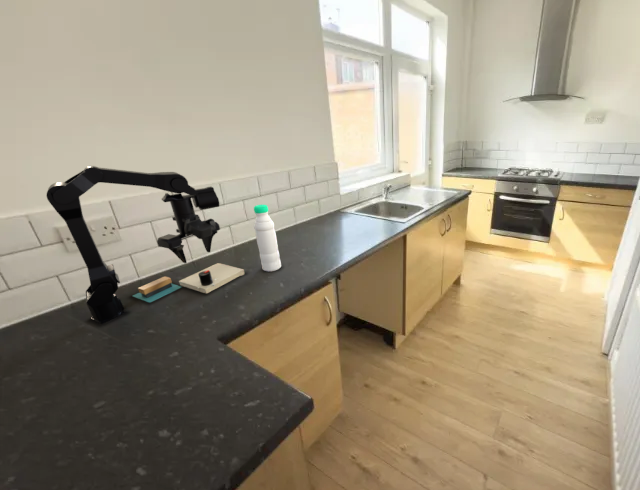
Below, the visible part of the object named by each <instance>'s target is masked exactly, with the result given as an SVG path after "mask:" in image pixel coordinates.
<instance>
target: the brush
mask: <svg viewBox="0 0 640 490" xmlns="http://www.w3.org/2000/svg"><path fill="white" fill-rule="evenodd" d="M171 283H172V284H173V281H172V278H171V277H169V276H161V277H160V278H158V279H156V280H153V281H151V282H149V283H146V284H144V285H141V286H139V287H137V290H138V293H141V294H142V296H143V297H146V298H148V297H151V296H153V295H155V294H157V293H159V292H161V291H163V290H166V289H168V288H170V287H172V285H171Z"/></svg>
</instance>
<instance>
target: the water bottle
mask: <svg viewBox="0 0 640 490" xmlns="http://www.w3.org/2000/svg"><path fill="white" fill-rule="evenodd" d="M253 211H254V214H255V215H256V217H255V219H254V222H253V228H254V231H255V238H256V244H257V248H258V251H259V259H260V261H261V268H262V270H263V271H264V272H268V273H270V272H276V271H278V270H280V269H281V267H282V262H281V261H282V260H281V258H280V251H279V246H278V238H277V233H276V229H275V222H274V221H273V220H272V218H271V217H270V215H269V207H268V205H267V204H257V205H254V206H253Z"/></svg>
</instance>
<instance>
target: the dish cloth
mask: <svg viewBox="0 0 640 490" xmlns="http://www.w3.org/2000/svg"><path fill="white" fill-rule="evenodd" d="M171 285H172V287H170V288H168V289H166V290H163V291H161V292H159V293H157V294H155V295H153V296H151V297H148V298H146V297H143V296H142V294H141V293H139V292H137V293H134V294H133V295H132V297H133V298H136V299H138V300H141V301H144V302H146V303H149V304H150V303H152V302H154V301H156V300H158V299H160V298H162V297H165V296H167V295H169V294H171V293H173V292H175V291H177V290H179V289H182V286H181V285H178V284H174V283H173V282H172V283H171Z"/></svg>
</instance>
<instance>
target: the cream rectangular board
mask: <svg viewBox="0 0 640 490" xmlns="http://www.w3.org/2000/svg"><path fill="white" fill-rule="evenodd" d="M207 270H209V271H210V273H211V276H212V280H213V283H212V284H210V285H208V286H202V285H201V282H200V278H199V275H198V274H199V273H200V272H203V271H207ZM244 275H246V274H245V269H243V268H239V267H236V266H232V265H228V264H224V263H220V262H218V263H215V264H213V265H210V266H209V267H206V268H204V269H202V270H200V271H198V272H195V273H193V274H191V275H189V276H187V277H184V278H182V279H180V280H178V283H179V286H181V287H184V288H187V289H190V290H194V291H197V292H200V293H203V294H209V293H210V292H212V291H214V290H216V289H218V288H221V287H222V286H223V285H226V284H228V283H229V282H232V281H233V280H235V279H237V278H238V277H241V276H244Z"/></svg>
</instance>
